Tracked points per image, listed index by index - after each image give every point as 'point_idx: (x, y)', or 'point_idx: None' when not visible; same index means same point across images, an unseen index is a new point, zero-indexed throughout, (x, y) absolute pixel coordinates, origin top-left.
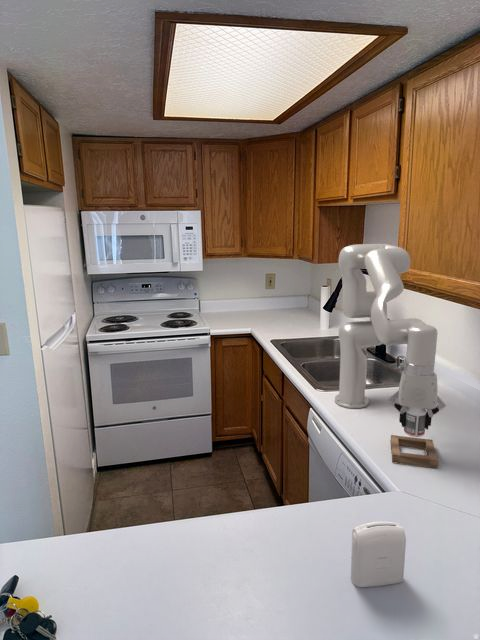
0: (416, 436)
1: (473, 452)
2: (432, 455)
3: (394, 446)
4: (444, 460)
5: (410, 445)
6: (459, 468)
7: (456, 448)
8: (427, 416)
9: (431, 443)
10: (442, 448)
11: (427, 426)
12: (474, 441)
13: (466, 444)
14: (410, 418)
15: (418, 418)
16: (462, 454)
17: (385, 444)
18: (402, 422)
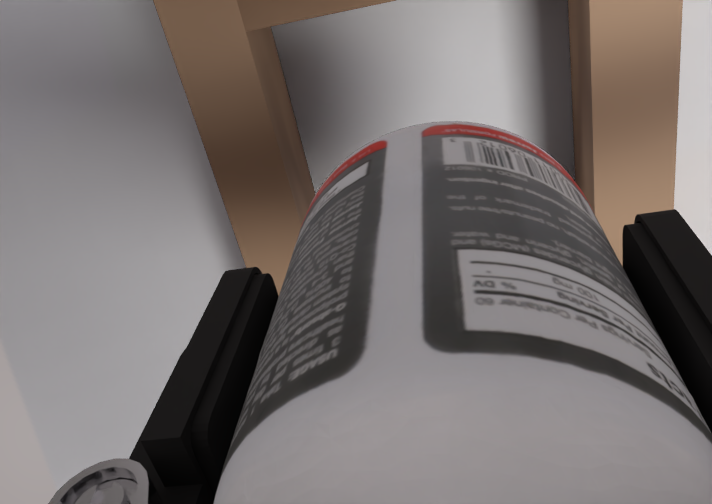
0: (399, 131)
1: (8, 344)
2: (218, 56)
3: (647, 77)
4: (154, 142)
5: None
6: (9, 56)
7: (122, 356)
8: (189, 466)
9: None
10: None
11: (227, 298)
12: (50, 472)
13: (80, 425)
14: (579, 302)
15: (373, 323)
16: (61, 291)
17: (695, 210)
18: (706, 251)
